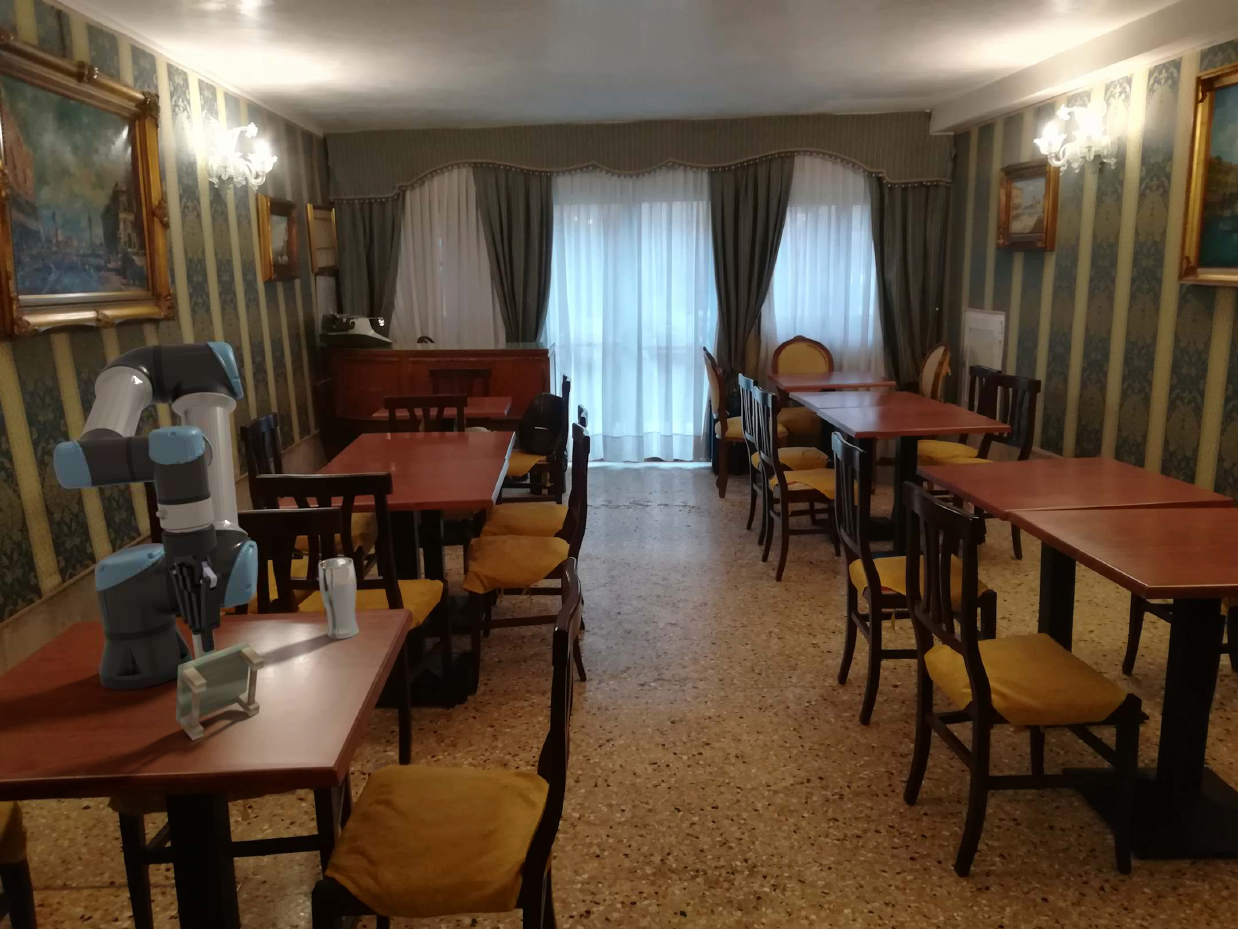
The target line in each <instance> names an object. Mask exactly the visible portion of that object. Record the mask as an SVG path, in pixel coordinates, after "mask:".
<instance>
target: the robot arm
mask: <svg viewBox="0 0 1238 929" xmlns="http://www.w3.org/2000/svg"><path fill="white" fill-rule="evenodd" d="M236 363H237V362H236V358H235V355H234V351H233V348H232V346H231V345H230V344H229V343H228V342H224V341H208V340H207V341H204V342H191V343H190V342H189V343H188V342H187V343H169V344H150V345H149V344H148V345H144V346H143V345H142V346H139V347H137V348H135V347H134V348H133V349H130V350H128V351H126V352H124V353H122V354H121V355H119V356H117V357H116V358H114V359H112V360H111V361H110V362H109V363H108V364H107V365H105V366H104V368H102V370H101V371H100V372H99V374H98V376H97V378H96V381H95V383H94V394H95V397H96V398H95V400H94V402H93V405H92V407H91V410H90V411H89V412H90V413H89V415H88V418H87V420H86V422H85V425H84V428H83V429H82V433H81V435H80V438H79V440H76V439H72V440H71V441H63V442H60V443H58V444H57V445H56V446H55V448H54V450H53V451H54V452H53V467H54V471H55V476H56V478H57V479H56V480H57V481H58V483H59V485H60V486H61V487H63V488H64V489H68V490H70V489H88V490H89V489H92V488H97V487H98V488H99V487H108V486H117V485H126V484H136V483H137V484H138V483H139V484H140V483H148V482H154V487H155V494H156V503H157V509H158V510H157V511H156V512H155V514H156V517H157V518H159V523H160V524H159V525H160V527H161V528H162V529H163V530H162V532H161V540H162V543H158V542H156V543H144V544H139V545H134V546H130V547H128V548H124V549H122V550H118V551H116V552H114V553H111V554H109V555H106V556H105V557H104V558H102V559H100V560H99V561H98V562H97V564H96V565H95V567H94V577H95V578H94V579H95V580H94V581H95V587H94V589H95V591H96V593H97V600H98V605H99V606H98V607H99V611H100V616H101V624H102V629H103V636H104V645H103V650H102V653H101V654H102V655H101V659H100V665H99V668H98V670H99V671H98V674H99V679H100V684H101V685H102V686H103V687H104V688H107V689H110V690H116V691H117V690H119V691H129V690H138V689H144V688H148V687H153V686H157V685H160V684H164V683H167V682H169V681H172V680H174V679H176V678H178V665H181V664H184V663H186V662H189V661H192V660H193V655H192V652H191V648H190V647H189V645H188V644H187V642H186V640H185V638H184V636H183V634H182V632H181V631H180V629H179V628H178V626H177V619H176V615H181V618H182V619H181V620H182V622H183V624H184V625H187V626H188V629H189V630H190V631H191V636H192V645H193V650H194V651H193V652H194V656H195V657H194V658H195V659H198V658H201V657H203V656H206V655H209V654H212V653H215V652H217V648H216V642H215V634H214V630H216V629H219V628H220V627H221V609H224V608H225V609H230V608H232V607H236V606H241V605H245V604H248V603H250V602H251V601H252V600H253V599H254V597H255V594H256V592H257V591H256V590H257V584H258V572H259V571H258V568H259V567H258V566H259V562H258V545H257V543H256V541H254V540H249V536H248V535H249V534H248V533H247V531H245V530H244V529H243V528H241V526H239V519H238V516H239V515H238V506H237V494H236V483H235V471H234V460H233V446H232V437H231V436H232V435H231V425H230V424H231V423H230V415H231V414H232V413H233V412H234V411H235V410H236V408H237V400H240V399H242V398H243V397H244V392H243V387H242V384H241V383H242V382H241V379H240V374H239V371H238V367H237V364H236ZM159 404H160V405H161V404H164V405H165V404H171V408H172V411H173V412H175V413H176V414H177V415H179V416H180V417H181V425H175V426H167V427H166V426H164V427H160V428H156V429H153V430H151V431H150V432H149V434H146V435H135V434H136V431H137V428H138V425H139V421H140V418H141V414H142V411H143V410H144V409H146V408H147V407H148V406H150V405H159ZM195 659H194V660H195Z"/></svg>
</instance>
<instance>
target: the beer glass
mask: <svg viewBox="0 0 1238 929" xmlns="http://www.w3.org/2000/svg"><path fill="white" fill-rule="evenodd" d="M318 582H319V590H320V595H321V600H322V602H323V605H324V608H325V612H326V616H327V638H329V639H331V640H345V639H349V638H352V637H355V636H356V635H358V634H359V632H360V628H359V626H358V622H357V618H356V601H357V576H356V571H355V566H354V559H353V558H349V557H334V558H329V559H328V558H327V559H324V560H323V561H320V562H319V563H318Z"/></svg>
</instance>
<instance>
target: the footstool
mask: <svg viewBox="0 0 1238 929" xmlns="http://www.w3.org/2000/svg"><path fill="white" fill-rule="evenodd" d="M264 660H265V659H264V658H263V657H262V656H261V655H260V654H259V653H257V651H256V650H255V649H254V648H253V647H252V646H251V645H249V643H248V642H247V641H243V642H240V643H237V644H235V645H234V644H233V645H232V646H229V647H227V648H226V647H225V648H223V649H221V650H218V651H217V650H216V652H215V653H212V654H209V655H206V656H203V657H201V658H198V659H192V661H189V662H186V663H184V664H181V665H178V677H177V688H176V704H175V705H176V708H175V711H176V712H175V721H176V723H177V724H178V725H179V726H180V727H181V728H182V729H183V730H184V732H185V733H186V734H187V735H188V737H190V738H191V740H192V741H195V740H198V739H200V738H203V737H204V730H205V728H204V727H203V726H202V725H201V724H200V723H199V719H201V718H203V717H205V716H207V715H210V714H213V713H215V712H218V711H221V710H222V709H226V708H228V707H229V706H232V705H235V704H238V706H239V707H240V708H241V709H243V711H244V712H245V713H246V714H247V715H248V716H249V717H252V716H255V715H257V714H259V713H260V704H259V703H258V702H257V700H256V689H257V678H258V670H261V669H263V668H264ZM247 690H248V691H247Z"/></svg>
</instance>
